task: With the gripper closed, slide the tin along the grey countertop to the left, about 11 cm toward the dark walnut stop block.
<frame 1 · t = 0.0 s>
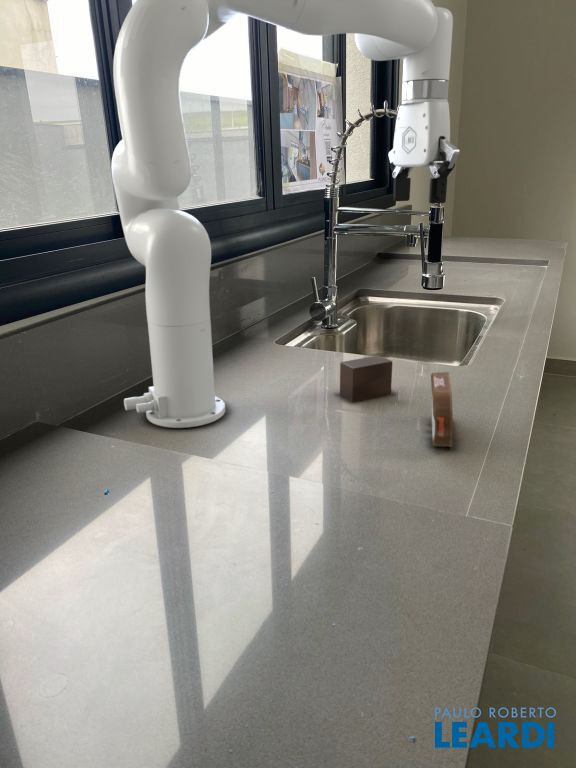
hand: (418, 202, 106), 31 cm above the counter, tool pointing down, fingers open, 9 cm apart
tin: (438, 435, 89), on the counter
stop block: (365, 394, 105), on the counter
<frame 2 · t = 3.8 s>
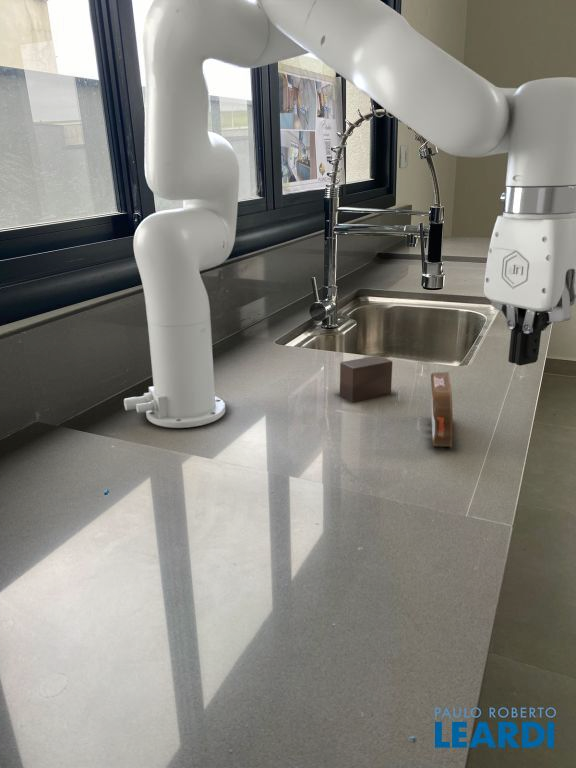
hand: (522, 361, 73), 15 cm above the counter, tool pointing down, fingers closed
nothing on the counter moved.
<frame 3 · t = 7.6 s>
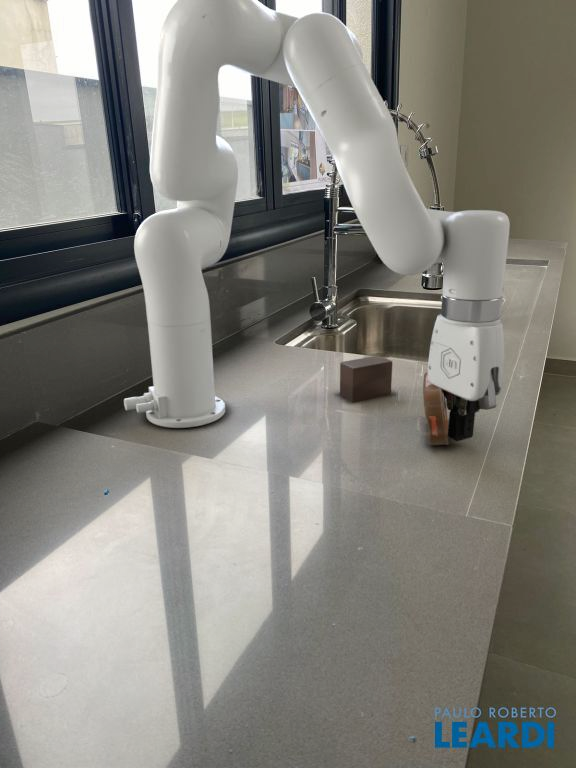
hand: (460, 437, 85), 1 cm above the counter, tool pointing down, fingers closed
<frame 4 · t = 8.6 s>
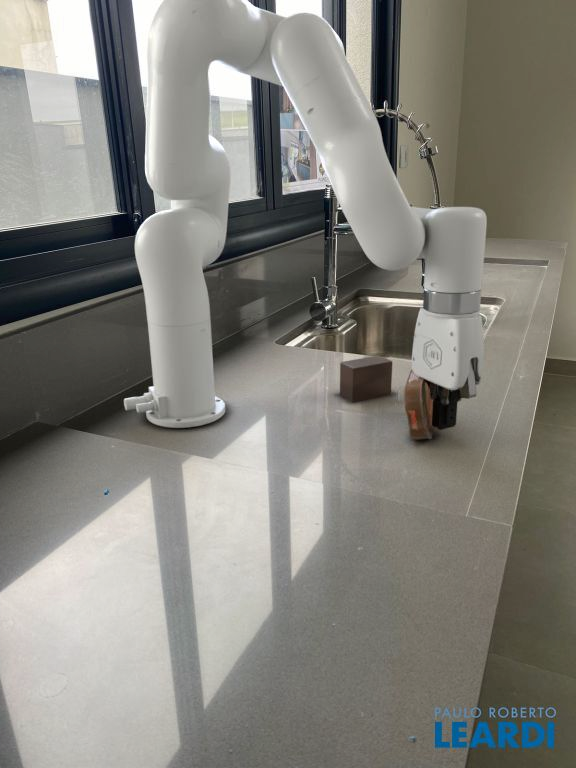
hand: (443, 425, 88), 1 cm above the counter, tool pointing down, fingers closed
tin: (423, 429, 91), on the counter, touching gripper
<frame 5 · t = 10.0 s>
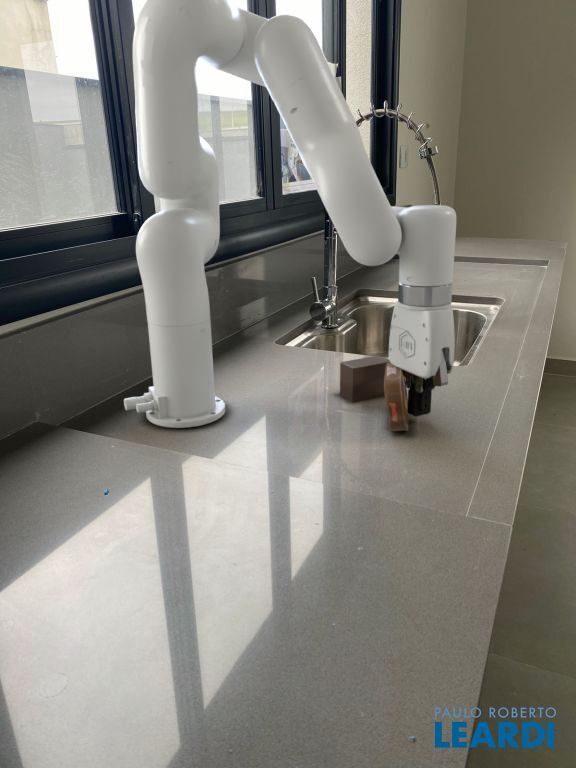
hand: (418, 413, 93), 1 cm above the counter, tool pointing down, fingers closed
tin: (398, 421, 94), on the counter
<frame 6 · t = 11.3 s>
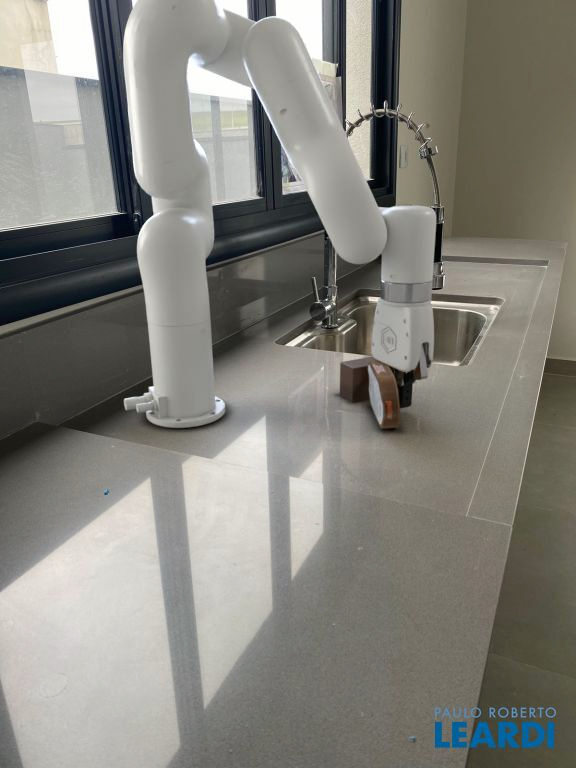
hand: (400, 406, 96), 1 cm above the counter, tool pointing down, fingers closed
tin: (381, 418, 95), on the counter
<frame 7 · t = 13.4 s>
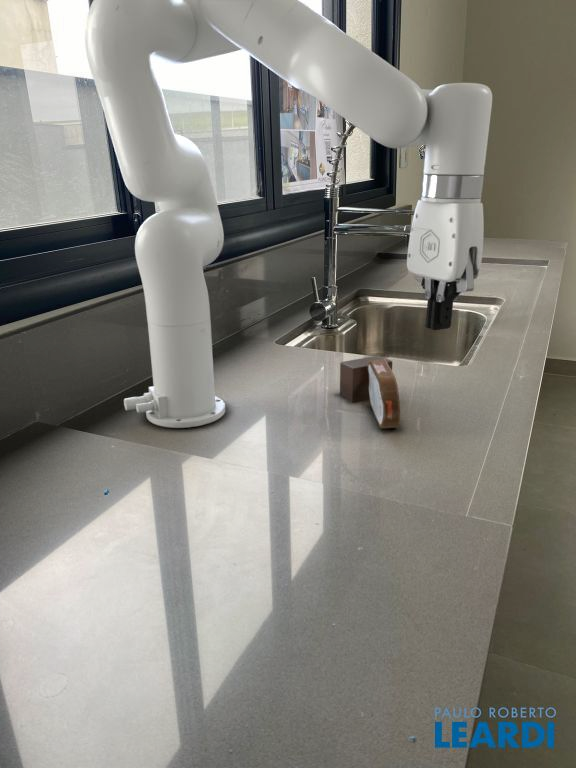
hand: (437, 327, 84), 16 cm above the counter, tool pointing down, fingers closed
nothing on the counter moved.
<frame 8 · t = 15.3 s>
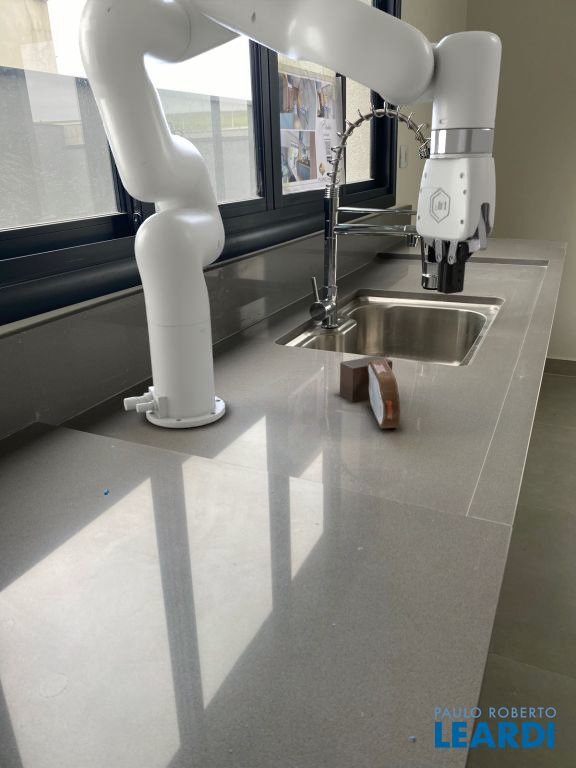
hand: (449, 291, 82), 21 cm above the counter, tool pointing down, fingers closed
nothing on the counter moved.
at the end: tin inside the target area (4.7 cm from its centre), on the counter; tin tilted 0°; tin moved 10.0 cm from its start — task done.
